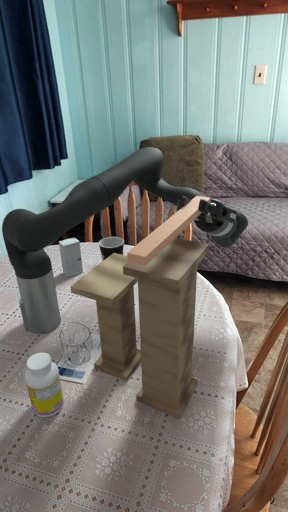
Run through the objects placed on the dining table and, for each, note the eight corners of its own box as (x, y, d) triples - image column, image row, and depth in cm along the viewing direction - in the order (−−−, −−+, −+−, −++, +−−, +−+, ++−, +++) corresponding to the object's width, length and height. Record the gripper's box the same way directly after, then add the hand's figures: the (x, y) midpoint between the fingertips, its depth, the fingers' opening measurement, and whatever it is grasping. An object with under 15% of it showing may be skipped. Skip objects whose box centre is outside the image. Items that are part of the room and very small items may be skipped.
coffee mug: (124, 273, 124) (122, 247, 119) (99, 273, 124) (97, 248, 120) (126, 257, 134) (125, 233, 130) (103, 257, 135) (101, 233, 130)
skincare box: (67, 277, 122) (62, 246, 117) (62, 272, 126) (57, 241, 120) (84, 272, 125) (80, 241, 120) (78, 267, 129) (74, 236, 123)
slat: (196, 202, 74) (196, 195, 74) (210, 204, 73) (210, 197, 72) (127, 261, 53) (127, 252, 52) (145, 265, 52) (145, 256, 51)
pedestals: (120, 336, 95) (111, 216, 79) (206, 366, 85) (215, 235, 69) (78, 383, 81) (57, 250, 65) (175, 426, 71) (178, 280, 55)
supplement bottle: (33, 396, 78) (22, 351, 72) (64, 390, 80) (55, 346, 74) (32, 422, 73) (20, 376, 67) (65, 415, 74) (56, 369, 68)
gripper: (240, 239, 80) (223, 228, 65) (182, 229, 86) (154, 216, 71) (248, 207, 80) (232, 188, 65) (189, 198, 86) (162, 179, 71)
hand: (191, 203), depth 68 cm, fingers closed on slat, 3 cm apart
